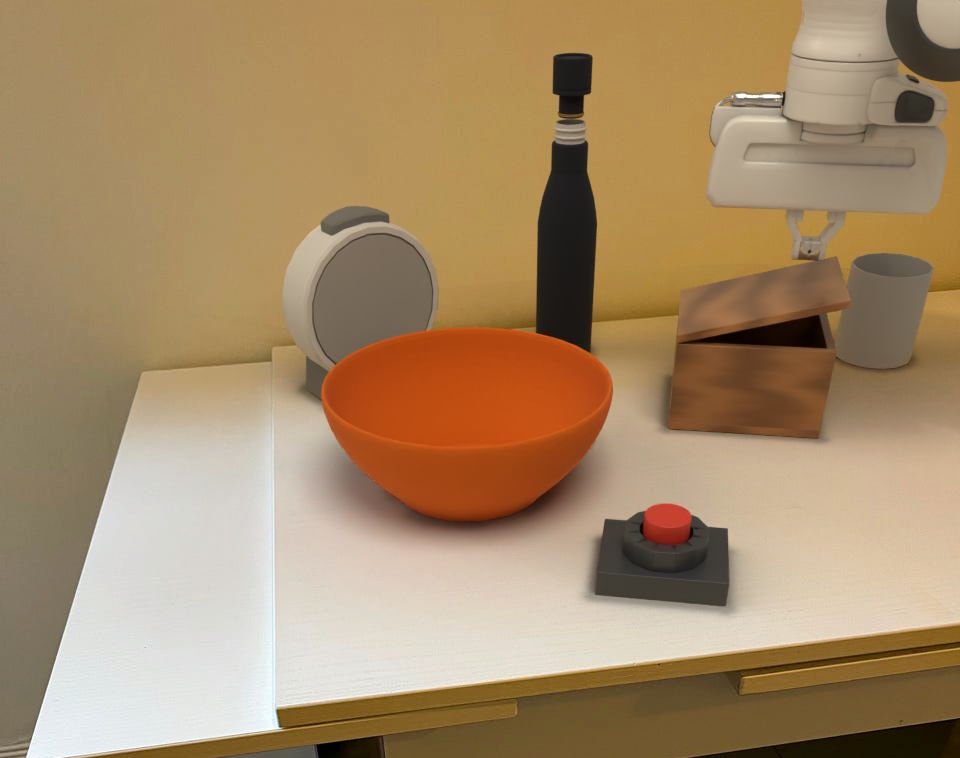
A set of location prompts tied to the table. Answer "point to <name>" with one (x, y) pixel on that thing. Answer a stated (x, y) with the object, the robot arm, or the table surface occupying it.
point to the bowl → (467, 416)
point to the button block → (663, 564)
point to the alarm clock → (356, 288)
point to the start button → (667, 524)
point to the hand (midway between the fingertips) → (806, 258)
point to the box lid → (762, 299)
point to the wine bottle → (568, 215)
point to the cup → (883, 310)
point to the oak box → (755, 380)
